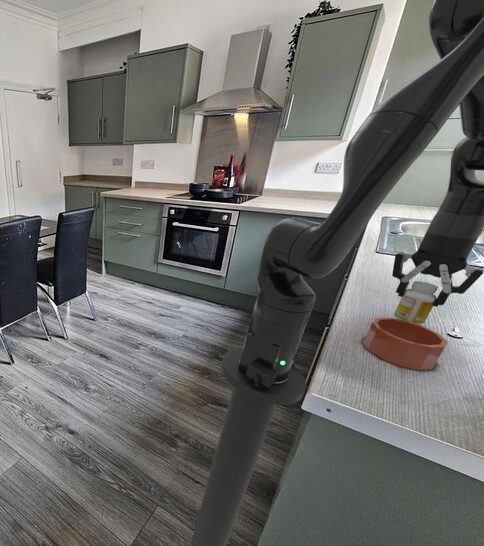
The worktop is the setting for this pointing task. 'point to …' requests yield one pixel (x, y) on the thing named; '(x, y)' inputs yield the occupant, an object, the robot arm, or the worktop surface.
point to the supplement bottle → (416, 302)
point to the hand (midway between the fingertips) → (417, 300)
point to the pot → (404, 343)
